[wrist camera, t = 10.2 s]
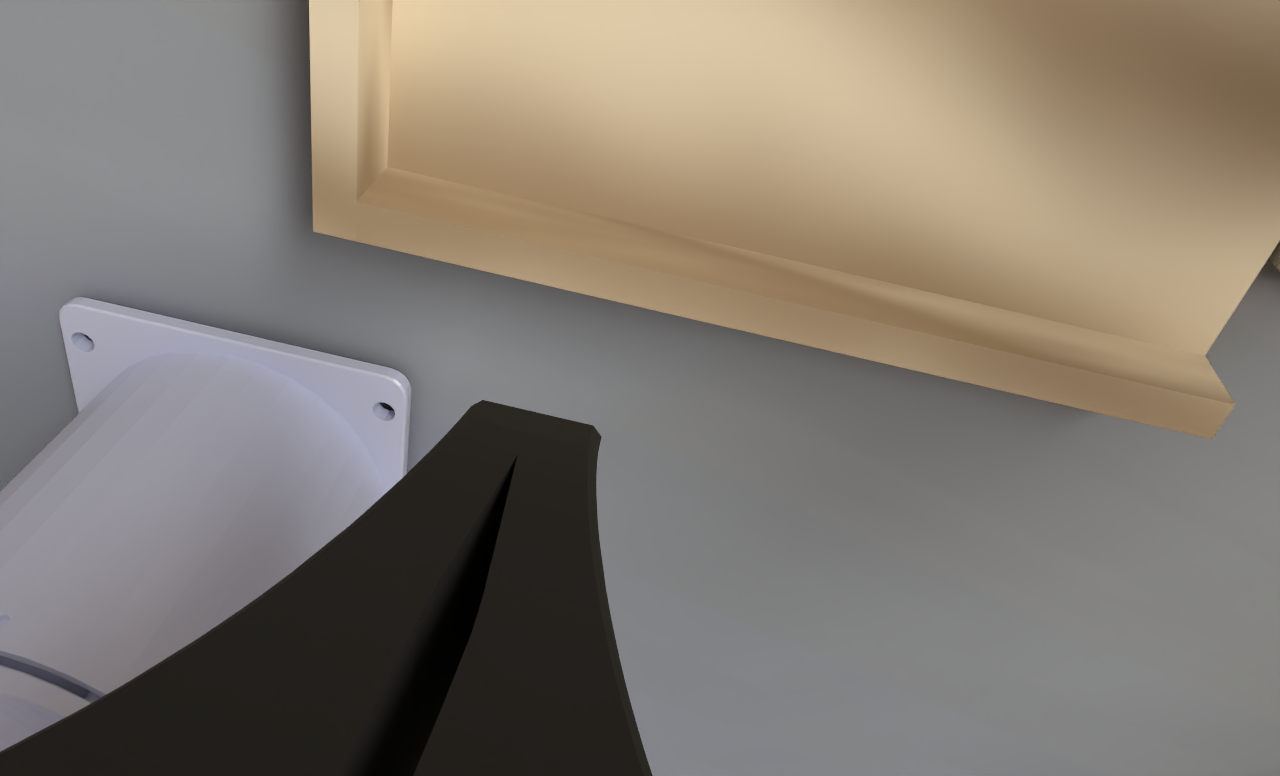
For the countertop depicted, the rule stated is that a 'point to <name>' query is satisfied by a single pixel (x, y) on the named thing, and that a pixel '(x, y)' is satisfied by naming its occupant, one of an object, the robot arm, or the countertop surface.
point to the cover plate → (1276, 256)
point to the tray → (836, 171)
